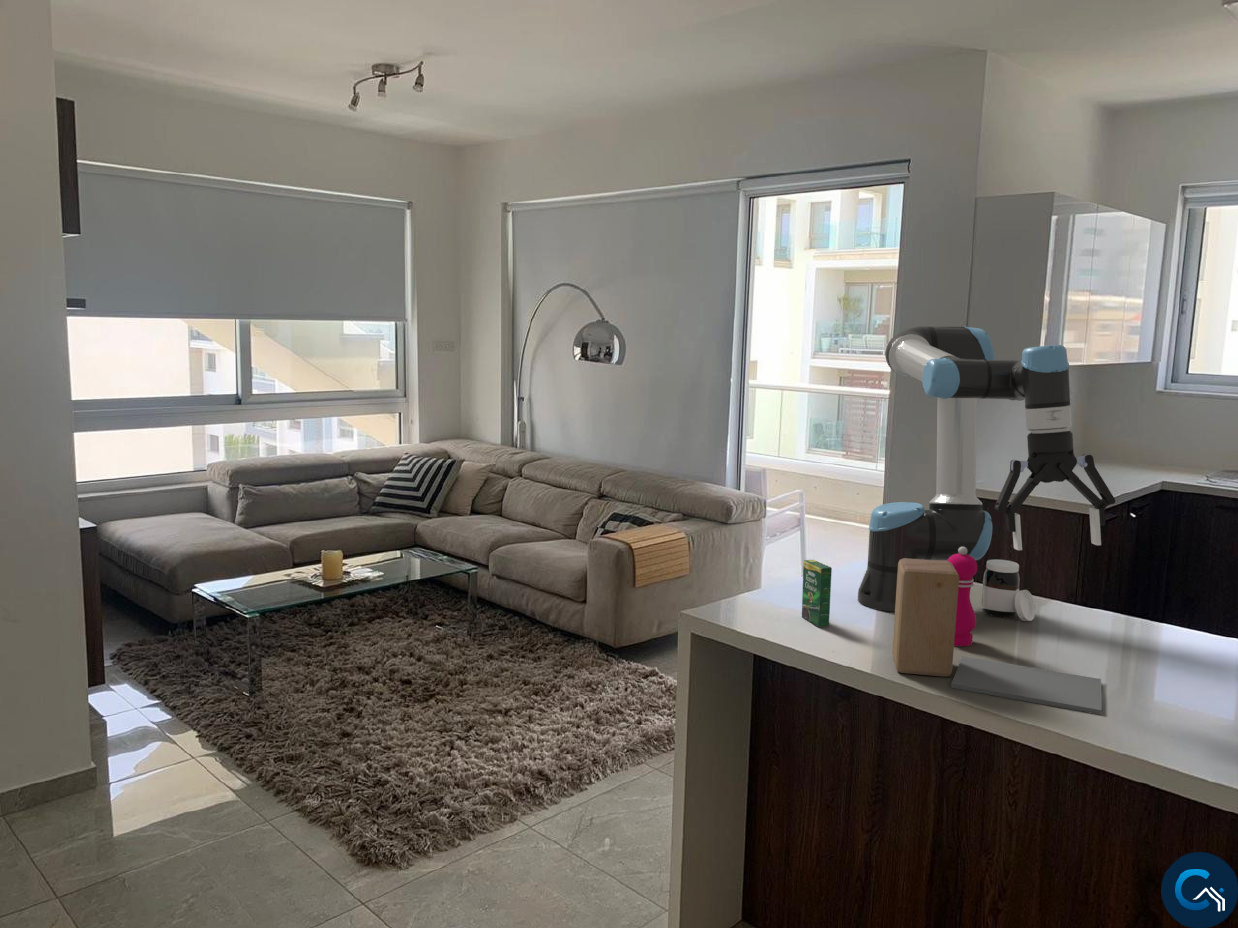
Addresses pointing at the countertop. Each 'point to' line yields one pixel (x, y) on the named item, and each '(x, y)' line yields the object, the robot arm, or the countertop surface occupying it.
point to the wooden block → (925, 617)
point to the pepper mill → (964, 597)
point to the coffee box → (816, 592)
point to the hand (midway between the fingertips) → (1056, 546)
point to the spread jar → (1005, 592)
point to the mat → (1029, 684)
